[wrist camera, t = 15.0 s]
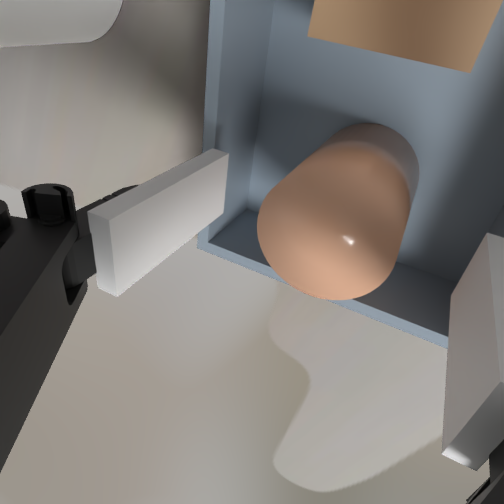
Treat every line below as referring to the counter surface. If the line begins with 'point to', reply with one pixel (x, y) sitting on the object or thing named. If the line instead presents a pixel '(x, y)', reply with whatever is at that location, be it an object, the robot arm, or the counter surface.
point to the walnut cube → (409, 28)
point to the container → (55, 21)
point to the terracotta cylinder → (341, 213)
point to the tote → (346, 114)
